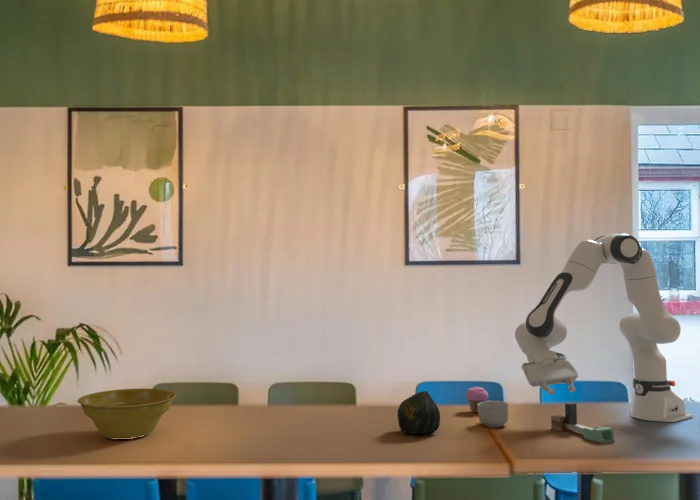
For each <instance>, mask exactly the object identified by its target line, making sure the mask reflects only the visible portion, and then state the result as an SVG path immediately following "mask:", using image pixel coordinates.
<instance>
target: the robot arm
mask: <svg viewBox="0 0 700 500" xmlns="http://www.w3.org/2000/svg"><path fill="white" fill-rule="evenodd" d="M602 264H611V265H616V264H619V265H620V266H621V268H622V272H623V279H624V285H625V290H626V296H627V299H628V301H629V302H630V303H631V304H632V305H633V306H634V307H635V309H636V311H637V312H631V313H627V314H625V315H623V316H622V317H621V319H620V321H619V330H620V332H621V334H622V335H623V336H624V337H625V339H626V341H627V343H628V345H629V347H630V350H631V354H632V358H633V359H632V360H633V375H634V378H633V379H632V387H633V389H634V390H633V392H632V401H631V402H632V404H631V409H630V417H632V418H635V419H639V420H642V421H649V422H650V421H651V422H665V423H675V422H679V421H683V420H688V419H691V418H693V414H692V413H690V412H686V405H685V402H684V400H683V399H682V398H681V397H679V396H678V395H677V394H676V393H674V392H673V391H672V389H671V387H675V386H677V385H676V381H675V380H668V378H667V377H668V375H667V359H666V358H665V356H664V355H663V354H662V353H661V351H660V349H659V347H658V345H666V344H671V343H674V342H676V341H677V340H678V339H679V337H680V335H681V330H682V329H681V325H680V323H679V321H678V320H677V319H676V318H675V317H674V316H672V314H671V313H670V312H669V310H668V308H667V307H666V305H665V303H664V300H663V299H662V297H661V294H660V290H659V289H660V288H659V284H658V280H657V273H656V269H655V265H654V262H653V260H652V255H651V254H650V252H649V251H648V250H646V249H645V248H642V247H641V244H640V243H639V240H637V238H636V237H635V236H633V235H631V234H630V233H629V234H628V233H612V234H608V235H602V236H599V237H596V238H595V239H593V240H592V239H584V240H581V241H580V242H579V243H577V245H576V247H575V248H574V250H573V251H572V253H571V254H570V256H569V257H568V259H567V261H566V264H565V265H564V267H563V269H562V270H561V272H559V273H558V275H556V276H555V278H554V279H553V281H552V282H551V283H550V284H549V287H548V288H547V290H546V291H545V292H544V295H543V296H542V298H541V300H540V301H539V303H538V304H537V305H536V306H535V307H534V308H533V309H532V310H531V311H530V312H529V313H528V314H527V316H526V318H525V322H522V323H520V324H519V325H518V326H517V328H516V329H515V331H514V337H515V340H516V342H517V345H518V346H519V349H520V351H521V352H522V353H523V354H524V355H525V356H526V359H527V362H524V363H522V364H521V370H522V371H523V373H524V376H525V378H526V380H527V382H528V384H529V386H531V387H540V388H541V389H542V390H543V391H545V392H546V393H547V395H549V396H553V395H554V394H555V390H554V389H553V388H552V387H550V385H559V384H566V386H567V385H568V388H567V390H568V391H569V393H575V391H576V387H575V386H574V382H575V381H576V380H577V378H579V374H578V371H577V370H576V367H574V366H573V364H572V363H571V362H570V361H569V360H567V356H566V354H564V353H563V352H557V351H554V350H550V349H551V348H553V347H556V346H557V345H559V344H561V343H562V342H563V341H564V340H565V339H566V337H567V333H568V332H567V331H568V330H567V327H566V325H565V323H563V322H562V321H561V320H560V319H558V318H556V316H555V313H556V311H557V310H558V309H559V308H558V307H559V306H560V304H561V302H562V301H563V300H564V298H565V296H566V295H567V294H568V293H571V292H581V291H584V290H586V289H587V288H589V287H590V285H591V284H592V283H593V281H594V279H595V277H596V275H597V273H598V271H599V268H600V266H601V265H602ZM657 344H658V345H657Z"/></svg>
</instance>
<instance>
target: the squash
mask: <svg viewBox="0 0 700 500" xmlns="http://www.w3.org/2000/svg"><path fill="white" fill-rule="evenodd" d="M440 413H441V412H440V409H439V406H438V405H437V403H436V402H435V401H434V399H433V398H432V396H431V394H430V393H429V392H428V391H427V390H423V391H418V392H417V393H415V394H413V395H410V397H408V398H406V399H404V400H403V401H402V402H401V403H400V405H399V407H398V409H397V420H398V426H399V429H400V431H402V433H404V434H406V435H412V436H413V435H417V434H433V433H435V432H437V431H438V429H439V427H440V424H441V414H440Z"/></svg>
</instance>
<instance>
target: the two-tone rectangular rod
mask: <svg viewBox="0 0 700 500" xmlns="http://www.w3.org/2000/svg"><path fill="white" fill-rule="evenodd" d="M577 407H578V406H577V403H575V402H566V403H565V402H564V408H565V409H564V412H565V413H564V414H565V421H563V428H566V429H569V430H568V431H572V432H576V433H580V434H583V435H584V428H589V429H592V430H593V429H594V428H593V427H590V426H586V425H582V424H579V423H578V414H577V413H578V410H577Z"/></svg>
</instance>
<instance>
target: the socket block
mask: <svg viewBox="0 0 700 500" xmlns="http://www.w3.org/2000/svg"><path fill="white" fill-rule="evenodd" d="M550 418H551V419H550V421H551V423H550V424H551V425H550V427H551V429H552V430H554V431H558V432H564V430H565V431H570V430H569V429H566V428H563V421H565V413H564V414H563V413H562V414H555V415H551V416H550Z"/></svg>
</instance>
